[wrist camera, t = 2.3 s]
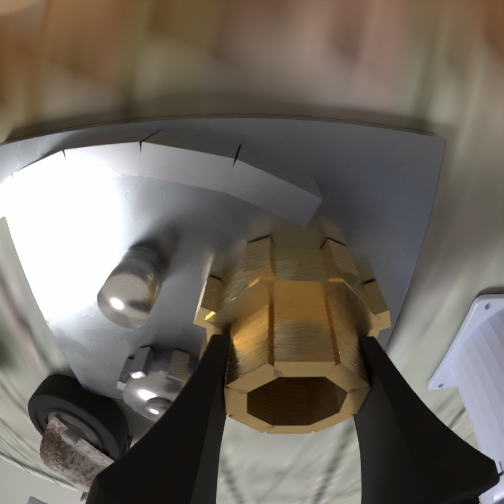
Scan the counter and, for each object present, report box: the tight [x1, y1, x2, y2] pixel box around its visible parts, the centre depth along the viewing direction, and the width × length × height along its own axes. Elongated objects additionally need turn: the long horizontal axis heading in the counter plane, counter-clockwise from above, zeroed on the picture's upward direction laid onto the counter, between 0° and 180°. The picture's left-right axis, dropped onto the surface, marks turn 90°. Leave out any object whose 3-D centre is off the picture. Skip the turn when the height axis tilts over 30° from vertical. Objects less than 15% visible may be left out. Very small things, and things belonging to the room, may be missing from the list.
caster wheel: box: [28, 375, 133, 501], centre depth 20 cm, size 7×11×10 cm
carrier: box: [0, 114, 446, 422], centre depth 13 cm, size 18×17×4 cm
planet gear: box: [193, 237, 391, 434], centre depth 11 cm, size 7×7×4 cm
